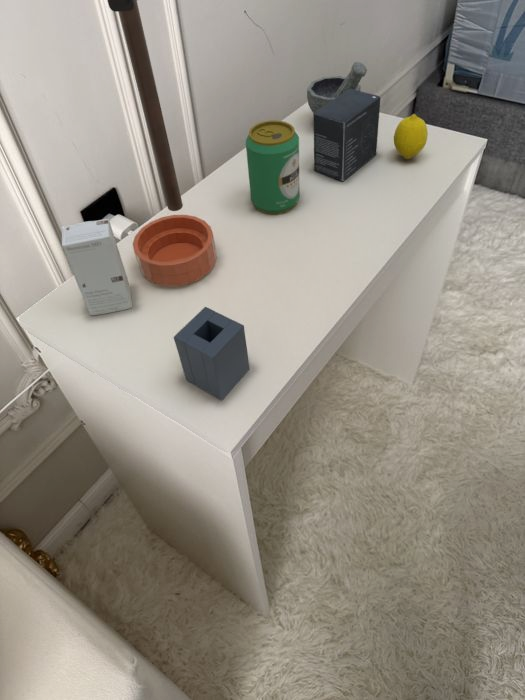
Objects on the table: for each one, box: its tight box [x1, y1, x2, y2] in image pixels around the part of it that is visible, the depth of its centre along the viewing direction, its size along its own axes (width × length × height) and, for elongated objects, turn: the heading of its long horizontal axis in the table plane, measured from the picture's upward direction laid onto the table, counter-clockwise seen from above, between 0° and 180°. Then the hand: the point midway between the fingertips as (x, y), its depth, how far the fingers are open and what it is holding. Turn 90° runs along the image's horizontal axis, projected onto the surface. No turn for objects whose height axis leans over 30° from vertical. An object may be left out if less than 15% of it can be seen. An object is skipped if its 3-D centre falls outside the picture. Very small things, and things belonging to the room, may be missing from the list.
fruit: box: [393, 113, 429, 160], centre depth 89 cm, size 6×6×8 cm
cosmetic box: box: [61, 218, 133, 316], centre depth 69 cm, size 6×4×12 cm
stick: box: [118, 0, 184, 212], centre depth 52 cm, size 2×2×26 cm
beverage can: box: [245, 119, 300, 215], centre depth 82 cm, size 8×8×12 cm
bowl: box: [132, 214, 217, 287], centre depth 76 cm, size 11×11×4 cm
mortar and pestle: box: [306, 61, 368, 114], centre depth 97 cm, size 11×9×12 cm
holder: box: [173, 306, 251, 402], centre depth 61 cm, size 6×6×8 cm
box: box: [312, 89, 381, 182], centre depth 89 cm, size 11×7×10 cm, turn 139°
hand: (126, 3), depth 46 cm, fingers closed on stick, 2 cm apart
